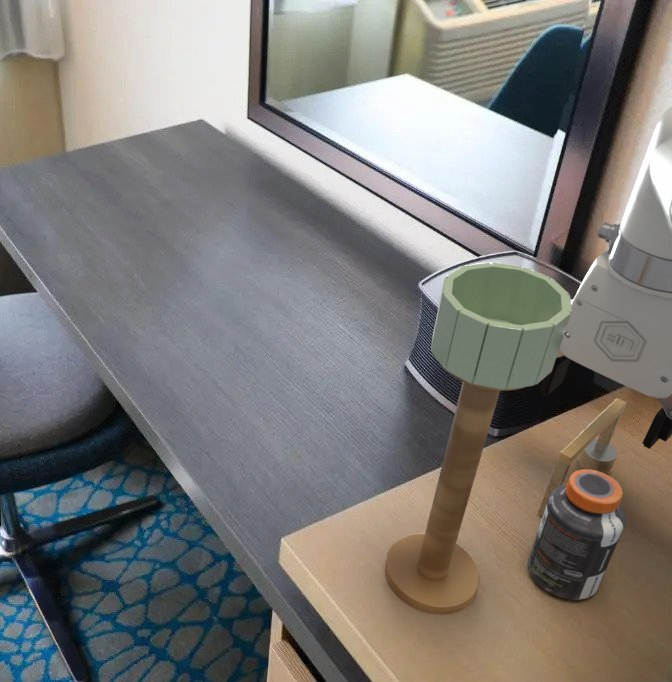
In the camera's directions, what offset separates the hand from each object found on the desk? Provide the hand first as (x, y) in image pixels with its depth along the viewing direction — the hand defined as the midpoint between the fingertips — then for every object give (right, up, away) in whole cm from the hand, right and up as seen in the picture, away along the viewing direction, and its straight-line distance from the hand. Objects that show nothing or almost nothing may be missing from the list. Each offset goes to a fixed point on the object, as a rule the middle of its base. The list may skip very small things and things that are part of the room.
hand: (599, 412), depth 73 cm
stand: (-17, -15, -2) cm, 22 cm away
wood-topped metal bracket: (0, -8, +6) cm, 10 cm away
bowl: (-18, +6, -18) cm, 26 cm away
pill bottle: (-5, -15, -3) cm, 16 cm away
